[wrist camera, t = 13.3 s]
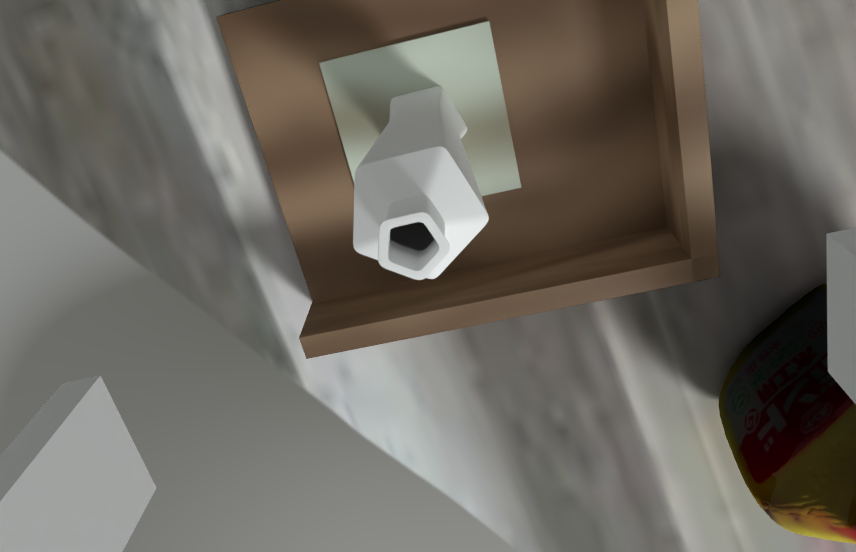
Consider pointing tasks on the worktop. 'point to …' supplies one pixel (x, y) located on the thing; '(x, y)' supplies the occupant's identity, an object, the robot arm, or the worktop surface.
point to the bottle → (794, 425)
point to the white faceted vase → (417, 189)
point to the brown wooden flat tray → (488, 150)
